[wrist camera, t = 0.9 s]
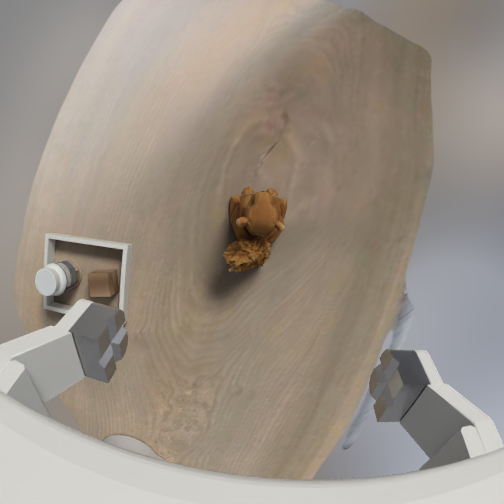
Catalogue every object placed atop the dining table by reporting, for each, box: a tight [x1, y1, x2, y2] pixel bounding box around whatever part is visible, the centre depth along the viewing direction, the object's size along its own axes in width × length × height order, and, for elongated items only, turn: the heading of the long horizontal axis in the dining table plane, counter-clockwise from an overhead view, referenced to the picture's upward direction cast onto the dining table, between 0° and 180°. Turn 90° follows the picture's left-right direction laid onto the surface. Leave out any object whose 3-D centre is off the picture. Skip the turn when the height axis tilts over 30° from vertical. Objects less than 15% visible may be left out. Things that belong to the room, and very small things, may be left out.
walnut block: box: [88, 269, 119, 297], centre depth 49 cm, size 4×4×5 cm
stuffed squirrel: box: [223, 187, 287, 273], centre depth 47 cm, size 10×14×13 cm
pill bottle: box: [35, 259, 81, 296], centre depth 46 cm, size 6×6×10 cm
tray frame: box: [43, 233, 133, 326], centre depth 50 cm, size 15×18×3 cm
